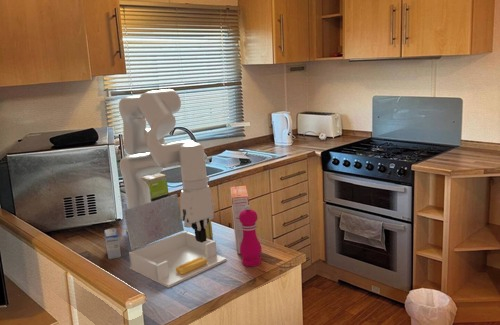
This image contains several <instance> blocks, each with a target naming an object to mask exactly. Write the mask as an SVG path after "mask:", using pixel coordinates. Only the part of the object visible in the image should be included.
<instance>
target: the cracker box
mask: <svg viewBox="0 0 500 325" xmlns="http://www.w3.org/2000/svg"><path fill="white" fill-rule="evenodd" d="M230 197H231V198H230V199H231V209H232V210H231V211H232V220H233V222H232V223H233V228H234V229H233V230H234V240H235V246H236V247H235V248H236V252H237V255H241V254H240V245H241V242H242V239H243V230H242V229H241V227H242V226H241V224H242V223H241V222H240V220H239V215H240V213H241V212H242V211H243V210H245V206H246V205H249V206H250V202H249V200H250V199H249V195H248V189H247V186H246V185H239V186H236V185H235V186H231V187H230Z"/></svg>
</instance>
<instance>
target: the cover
mask: <svg viewBox="0 0 500 325" xmlns="http://www.w3.org/2000/svg"><path fill="white" fill-rule="evenodd" d="M123 216H124V222H125V225H126V232H127V231H128V232H127V234H128V235H127V236H128V240H129V244H130V245H129V246H130V250H131V251H134V250H137V249H139V248H142V247H145V246H147V245H150V244H152V243H155V242H158V241H160V240H163V239H166V238H168V237H171V236H173V235H176V234H179V233H181V232H184V231H185V230H184V229H185V228H184V223H183V221H182V220H181V214H180V201H179V198H178V193H176V194H171V195H169V197H165V198H162V199H159V200H156V201H153V202H149V203H146V204H143V205H140V206H136V207H133V208H130V209H128V208H127V209H124V210H123Z"/></svg>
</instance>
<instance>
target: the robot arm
mask: <svg viewBox="0 0 500 325" xmlns="http://www.w3.org/2000/svg"><path fill="white" fill-rule="evenodd" d="M181 105H182V101H181V97H180V96H179V94H178V93H177V92H176V90H174V89H171V88H168V89H167V88H166V89H159V90H157V89H156V90H149V91H146V92H144V93H141V95H140V94H139V95H131V96H130V95H129V96H125V97H121V99H120V100H119V102H118V110H119V114H120V116H121V119H122V125H123V126H122V128H123V130H122V132H123V133H122V135H123V136H122V137H123V140H122V141H123V148H124V152H126V153H127V154H128V155H125V156H124V157H122V158H121V159H120V161H119V170H120V173H121V176H122V179H123V184H124V191H125V197H126V206H127V209H130V208H133V207H136V206H140V205H143V204H146V203H149V202H151V199H150V191H149V186H148V184H147V183H146V182H145V181H143V180H142V177H144V176H148V175H153V174H157V173H160V174H161V172H162V171H163V169H168V168H172V167H178V166H180V173H181V175H180V176H181V182H182V189H181V191H180V196H179V207H180V214H181V220H182V222H184V223H183V228H184V227H185V228H189V229H190V228H191V229H192V230H194V234H195V238H196V241H198V242H201V243H202V242H205V241H206V230H205V229H206V228H207V224H208V222H209V221H210V220H211V221H212V220H213V219H214V215H215V214H214V213H215V207H214V206H215V205H214V200H213V195H212V191H211V188H210V185H208V183H209V182H208V181H210V177H209V176H207V174H208V173H207V167H206V166H207V165H206V164H207V163H206V159H205V158H206V156H205V148H204V145H203V144H201V143H199V142H196V141H194V140H193V139H184V140H183V139H182V140H177V141H176V140H175V141H171V142H165V137H166V136H167V135H169V134H170V133H171V132H172V131H173V130H174V128H175V126H176V124H177V122H176V121H177V120H176V118H175V115H174V114H176V113H178V112H179V111H180V109H181V107H182V106H181ZM147 124H148V125H149V127H147ZM126 232H127V233H128V231H127V230H126Z"/></svg>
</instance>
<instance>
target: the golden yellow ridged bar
mask: <svg viewBox="0 0 500 325" xmlns="http://www.w3.org/2000/svg"><path fill="white" fill-rule="evenodd" d="M205 264H207V259H205V258H204V259H203V258H202V257H199V258H196V259H194V260H192V261H189V262H187V263H185V264H183V265H180V266H178V267H177V268H176V272H177V273H180V274H185V273H188V272H190V271H192V270H194V269H196V268H198V267H201V266H203V265H205Z"/></svg>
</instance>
